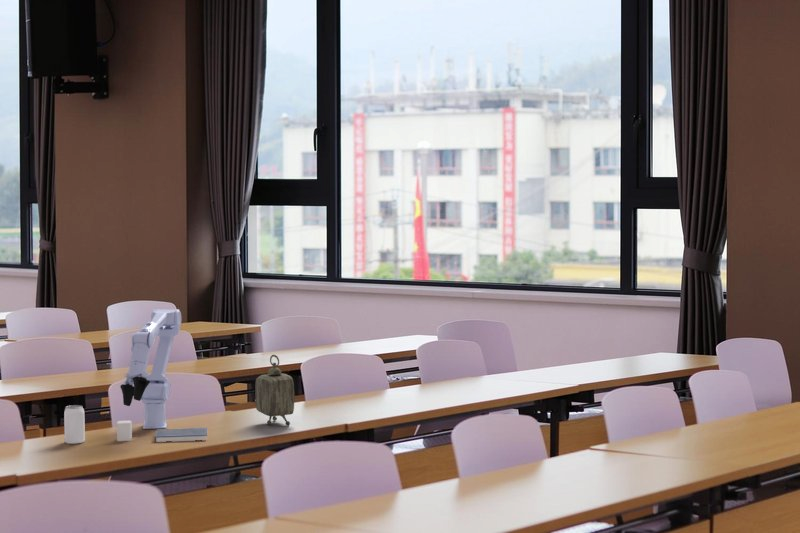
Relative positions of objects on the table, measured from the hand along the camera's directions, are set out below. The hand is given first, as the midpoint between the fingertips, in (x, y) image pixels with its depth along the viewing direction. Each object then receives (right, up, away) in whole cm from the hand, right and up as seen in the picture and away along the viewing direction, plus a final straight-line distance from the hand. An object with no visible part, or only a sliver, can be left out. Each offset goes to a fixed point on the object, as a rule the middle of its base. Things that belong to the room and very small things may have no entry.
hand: (131, 402), depth 393 cm
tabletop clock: (+45, -11, +27) cm, 54 cm away
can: (-18, -13, -3) cm, 23 cm away
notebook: (+16, -13, +5) cm, 21 cm away
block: (-3, -13, +2) cm, 13 cm away
